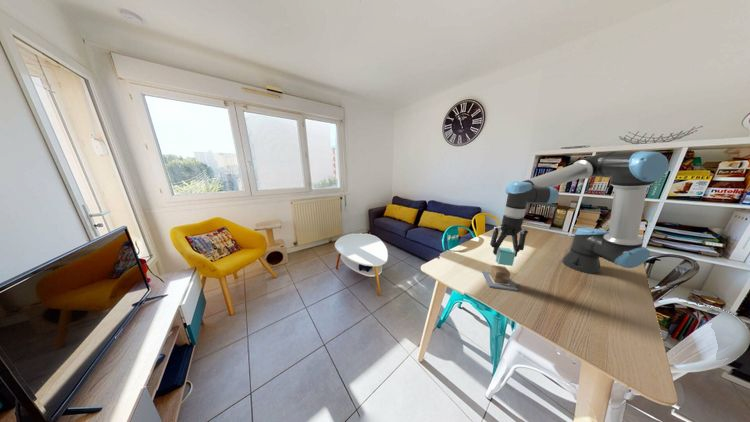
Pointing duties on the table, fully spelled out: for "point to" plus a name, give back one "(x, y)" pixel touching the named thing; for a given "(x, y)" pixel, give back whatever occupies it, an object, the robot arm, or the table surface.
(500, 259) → the teal block
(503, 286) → the build pad
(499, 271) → the walnut block
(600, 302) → the table surface
